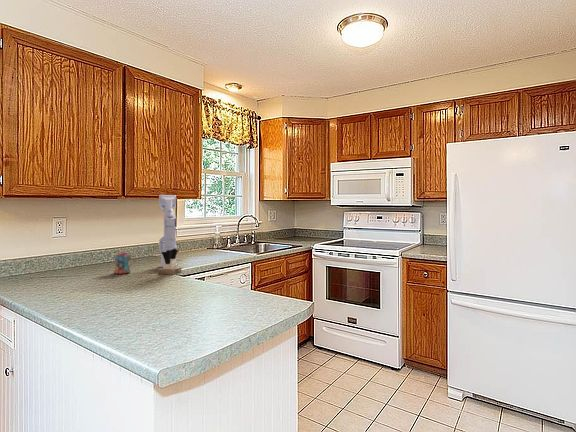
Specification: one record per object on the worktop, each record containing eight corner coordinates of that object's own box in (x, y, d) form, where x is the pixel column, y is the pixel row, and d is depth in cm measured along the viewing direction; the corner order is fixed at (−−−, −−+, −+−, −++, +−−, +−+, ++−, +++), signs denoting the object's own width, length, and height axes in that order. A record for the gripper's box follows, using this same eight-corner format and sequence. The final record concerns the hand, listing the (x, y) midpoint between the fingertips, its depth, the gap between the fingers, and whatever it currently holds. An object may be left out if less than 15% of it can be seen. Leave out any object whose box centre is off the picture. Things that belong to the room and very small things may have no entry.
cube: (167, 267, 208) (167, 258, 208) (175, 267, 207) (175, 258, 207) (163, 268, 203) (163, 259, 203) (171, 269, 202) (171, 260, 202)
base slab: (167, 270, 211) (167, 266, 210) (181, 271, 208) (181, 267, 208) (158, 273, 202) (158, 269, 202) (172, 274, 200) (172, 270, 200)
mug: (113, 275, 196) (113, 255, 195) (112, 272, 204) (112, 253, 203) (137, 273, 201) (137, 254, 201) (135, 270, 210) (135, 252, 209)
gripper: (169, 237, 212) (169, 260, 213) (157, 240, 198) (156, 265, 198) (180, 238, 211) (180, 261, 212) (169, 240, 197) (169, 265, 197)
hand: (170, 263), depth 205 cm, fingers open, 5 cm apart
